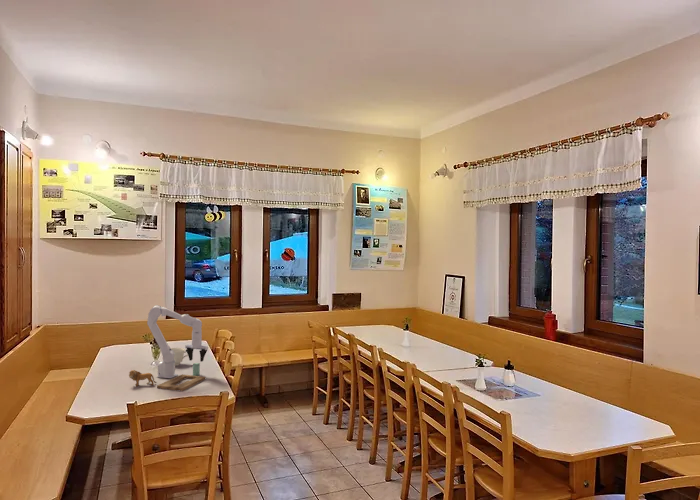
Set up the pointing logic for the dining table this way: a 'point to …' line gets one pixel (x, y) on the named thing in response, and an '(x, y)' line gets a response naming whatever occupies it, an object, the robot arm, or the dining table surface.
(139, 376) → the lion figurine
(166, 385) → the brown wooden frame
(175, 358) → the teacup
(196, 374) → the teal peg
